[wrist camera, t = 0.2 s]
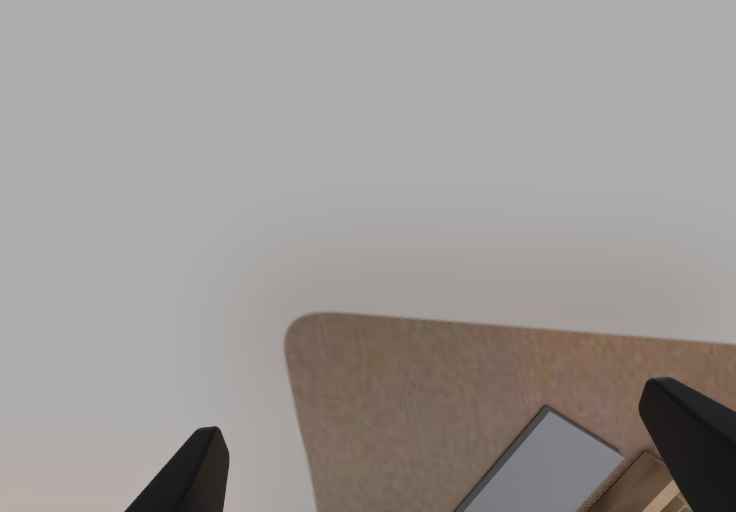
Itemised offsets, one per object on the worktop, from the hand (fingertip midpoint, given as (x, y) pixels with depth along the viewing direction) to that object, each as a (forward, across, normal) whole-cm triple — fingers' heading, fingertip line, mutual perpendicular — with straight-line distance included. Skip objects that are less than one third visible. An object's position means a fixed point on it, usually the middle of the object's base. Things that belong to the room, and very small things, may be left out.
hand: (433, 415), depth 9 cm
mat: (+10, -8, +21) cm, 25 cm away
